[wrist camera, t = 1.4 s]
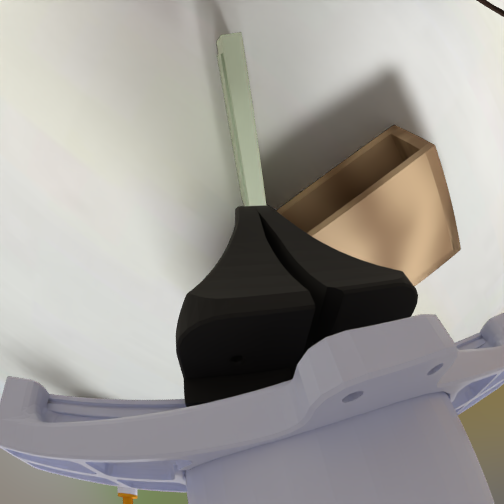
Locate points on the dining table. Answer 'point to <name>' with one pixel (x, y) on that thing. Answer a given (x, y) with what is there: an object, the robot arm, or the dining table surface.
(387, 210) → the cabinet
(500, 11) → the coffee mug
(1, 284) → the dining table surface
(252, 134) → the door
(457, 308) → the dining table surface
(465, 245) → the dining table surface
